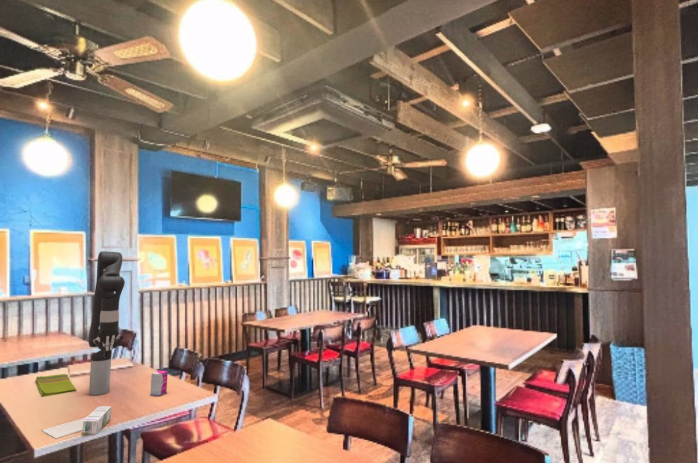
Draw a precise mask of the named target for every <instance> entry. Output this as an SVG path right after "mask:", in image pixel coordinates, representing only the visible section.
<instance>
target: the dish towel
mask: <svg viewBox="0 0 698 463" xmlns="http://www.w3.org/2000/svg"><path fill="white" fill-rule="evenodd" d="M35 386H36V388H37V390H38V393H39V394H40V396H41V397H42V398H43V397H45V398H46V397H50V396H55V395H56V396H57V395H62V394H68V393H73V392H77V389H76V387H75V385H74V384H73V383H72V381H71V379H70V376H69V374H66V373H62V374H59V373H58V374H52V375H44V376H43V375H41V376H36V378H35Z"/></svg>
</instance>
